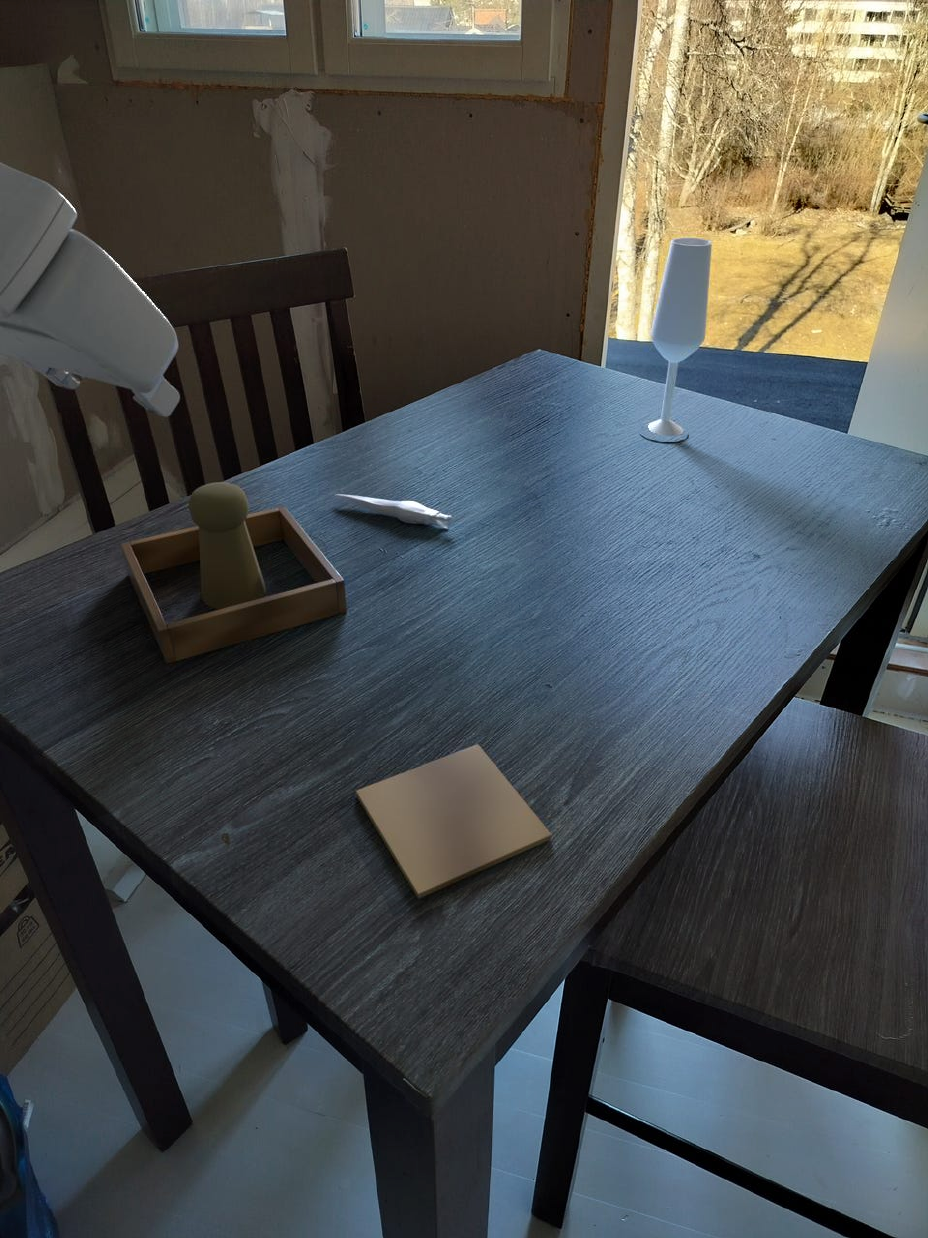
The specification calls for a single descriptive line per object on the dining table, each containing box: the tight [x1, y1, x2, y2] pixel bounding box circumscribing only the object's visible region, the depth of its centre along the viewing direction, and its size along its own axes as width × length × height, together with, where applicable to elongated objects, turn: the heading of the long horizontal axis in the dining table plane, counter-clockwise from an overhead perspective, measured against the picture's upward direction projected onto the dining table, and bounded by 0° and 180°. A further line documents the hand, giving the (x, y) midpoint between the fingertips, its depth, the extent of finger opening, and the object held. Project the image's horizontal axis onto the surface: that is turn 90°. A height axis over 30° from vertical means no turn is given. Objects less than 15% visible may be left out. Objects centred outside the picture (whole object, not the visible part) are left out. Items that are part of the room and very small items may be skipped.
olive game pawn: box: [188, 481, 267, 610], centre depth 79 cm, size 6×6×11 cm
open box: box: [120, 505, 348, 665], centre depth 81 cm, size 17×17×4 cm
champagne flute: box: [648, 237, 713, 436], centre depth 108 cm, size 7×7×24 cm
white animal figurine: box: [334, 493, 454, 530], centre depth 94 cm, size 15×3×2 cm, turn 65°
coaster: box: [355, 744, 552, 900], centre depth 59 cm, size 10×10×1 cm
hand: (119, 392), depth 54 cm, fingers open, 8 cm apart
